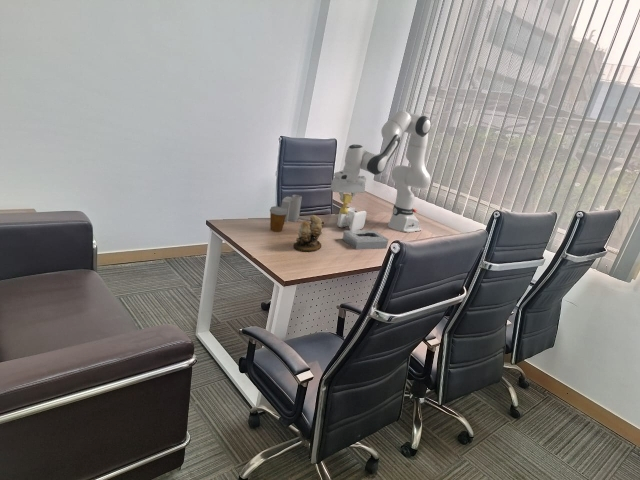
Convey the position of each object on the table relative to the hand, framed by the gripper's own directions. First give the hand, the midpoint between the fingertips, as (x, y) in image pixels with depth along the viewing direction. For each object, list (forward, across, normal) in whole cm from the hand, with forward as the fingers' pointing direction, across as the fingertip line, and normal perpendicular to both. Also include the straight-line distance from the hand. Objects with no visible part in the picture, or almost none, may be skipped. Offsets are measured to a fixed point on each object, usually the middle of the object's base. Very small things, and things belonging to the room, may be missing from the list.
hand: (346, 200), depth 222 cm
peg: (+8, 0, 0) cm, 8 cm away
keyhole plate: (+20, -8, +14) cm, 26 cm away
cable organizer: (+21, -13, -10) cm, 26 cm away
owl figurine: (+20, +27, +15) cm, 37 cm away
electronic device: (+21, +14, -21) cm, 33 cm away
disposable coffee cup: (+20, +35, -9) cm, 42 cm away
